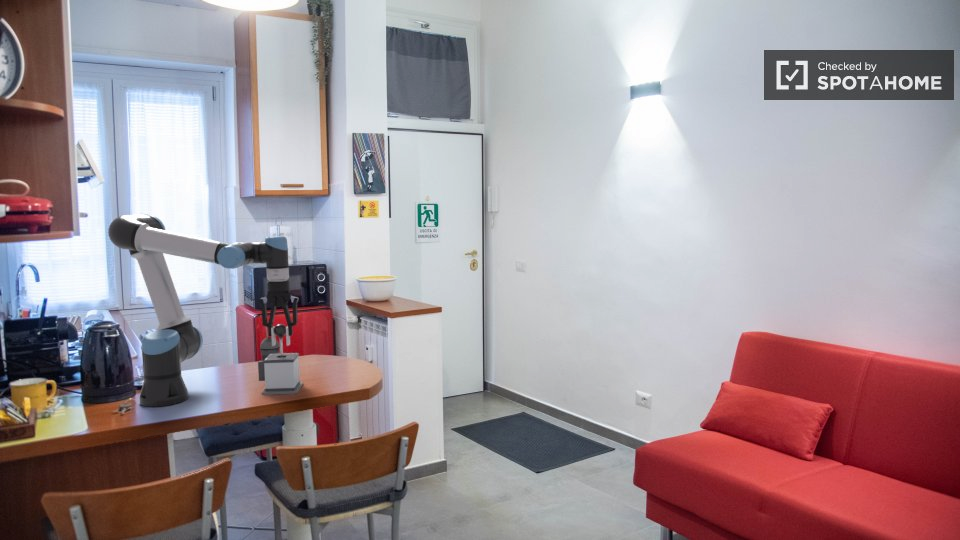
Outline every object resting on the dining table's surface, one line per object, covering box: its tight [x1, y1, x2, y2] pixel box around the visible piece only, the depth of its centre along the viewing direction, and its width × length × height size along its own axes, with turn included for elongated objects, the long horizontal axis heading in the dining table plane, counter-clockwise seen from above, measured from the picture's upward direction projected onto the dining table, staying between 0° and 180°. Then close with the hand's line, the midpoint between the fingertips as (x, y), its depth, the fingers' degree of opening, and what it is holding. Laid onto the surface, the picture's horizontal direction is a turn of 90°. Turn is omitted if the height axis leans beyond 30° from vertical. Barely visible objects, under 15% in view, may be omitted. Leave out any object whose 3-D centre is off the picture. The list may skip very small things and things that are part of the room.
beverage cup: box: [259, 326, 280, 361], centre depth 261 cm, size 7×7×20 cm
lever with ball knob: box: [274, 323, 287, 358], centre depth 244 cm, size 8×8×20 cm
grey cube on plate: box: [257, 352, 304, 396], centre depth 245 cm, size 14×12×12 cm
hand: (281, 344), depth 244 cm, fingers closed on lever with ball knob, 4 cm apart
